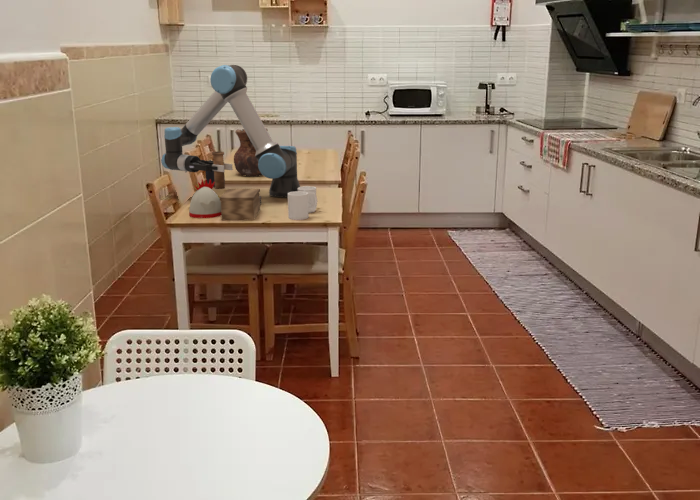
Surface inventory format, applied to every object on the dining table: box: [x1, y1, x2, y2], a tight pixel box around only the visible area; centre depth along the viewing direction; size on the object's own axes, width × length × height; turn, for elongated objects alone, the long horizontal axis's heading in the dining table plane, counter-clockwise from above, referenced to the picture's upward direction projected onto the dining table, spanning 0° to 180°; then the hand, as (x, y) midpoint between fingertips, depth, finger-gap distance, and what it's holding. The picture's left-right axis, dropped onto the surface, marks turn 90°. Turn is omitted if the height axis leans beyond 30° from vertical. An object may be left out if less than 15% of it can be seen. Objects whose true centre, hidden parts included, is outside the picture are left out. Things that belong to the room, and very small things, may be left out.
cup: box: [287, 191, 318, 221], centre depth 282 cm, size 8×12×10 cm
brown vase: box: [233, 127, 268, 177], centre depth 379 cm, size 22×21×25 cm
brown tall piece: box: [211, 151, 226, 190], centre depth 308 cm, size 5×5×16 cm
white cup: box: [297, 185, 317, 214], centre depth 292 cm, size 8×8×10 cm
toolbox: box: [219, 188, 262, 221], centre depth 294 cm, size 14×33×9 cm, turn 179°
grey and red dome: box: [188, 178, 222, 219], centre depth 288 cm, size 14×14×15 cm
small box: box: [205, 170, 226, 188], centre depth 352 cm, size 11×6×10 cm, turn 168°
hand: (227, 168), depth 304 cm, fingers closed on brown tall piece, 4 cm apart
